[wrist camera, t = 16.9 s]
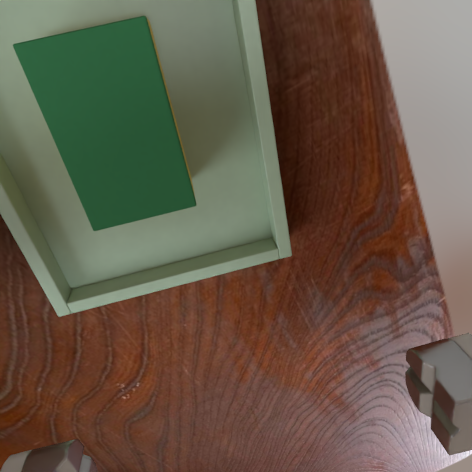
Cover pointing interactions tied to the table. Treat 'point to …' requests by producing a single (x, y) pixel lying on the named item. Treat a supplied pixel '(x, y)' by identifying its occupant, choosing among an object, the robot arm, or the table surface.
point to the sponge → (111, 120)
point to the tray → (193, 140)
